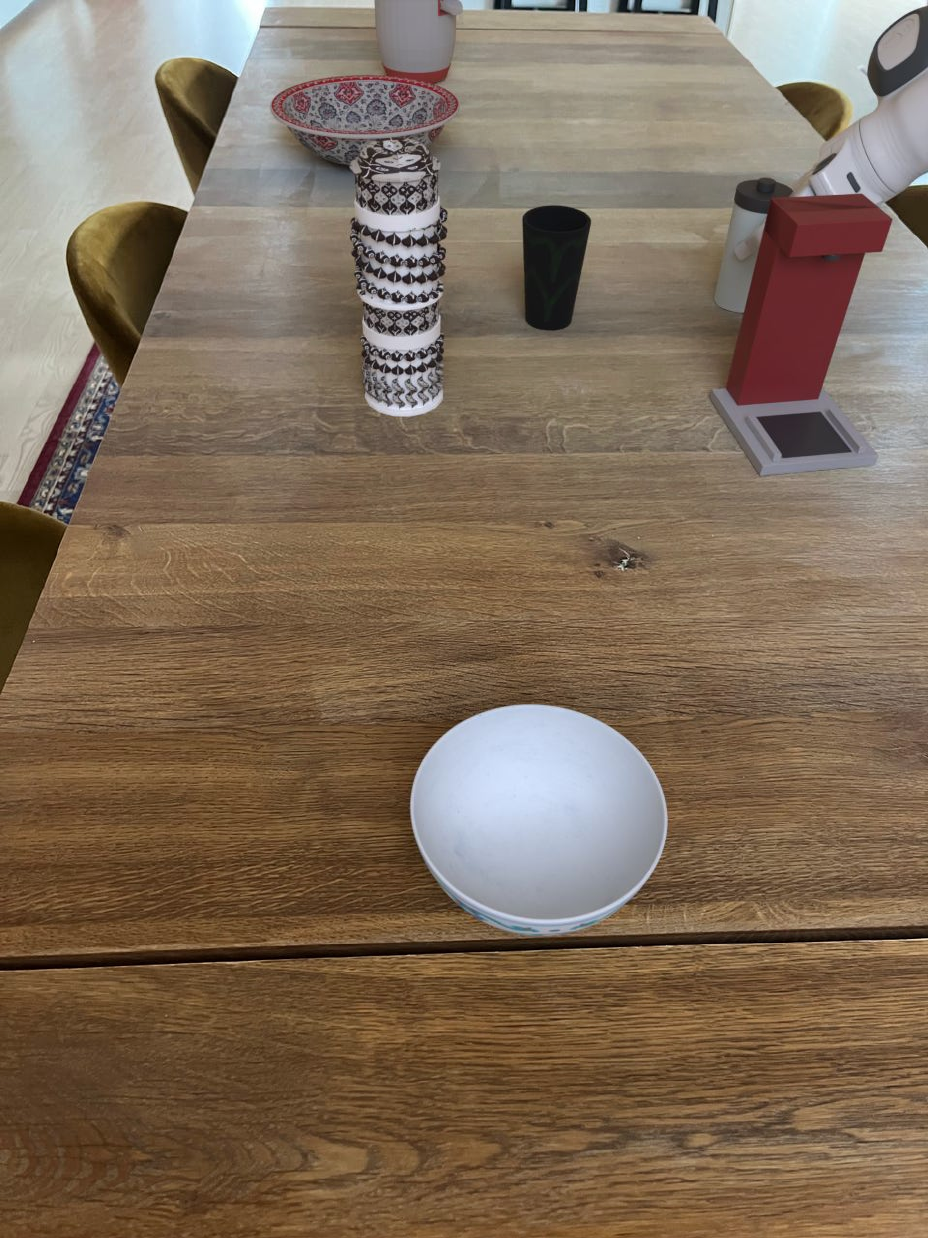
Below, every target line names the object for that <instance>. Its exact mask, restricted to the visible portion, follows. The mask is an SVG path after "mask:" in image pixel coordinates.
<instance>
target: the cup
mask: <svg viewBox="0 0 928 1238" xmlns="http://www.w3.org/2000/svg"><path fill="white" fill-rule="evenodd" d="M521 220H522V221H521V224H522V225H521V226H522V254H523V255H522V256H523V257H522V259H523V286H524V287H523V289H524V290H523V291H524V318H525V319H524V320H525V322H526V323H527V324H528V325H529V326H530V327H532V328H535V329H537V330H541V331H559V330H564V329H565V328H568V327H569V326H570V325H571V324H572V320H573V316H574V310H575V305H576V300H577V295H578V291H579V285H580V280H581V276H582V271H583V265H584V260H585V255H586V252H587V245H588V240H589V236H590V231H591V227H592V219H591V217H590V215H588V214H587V213H586V212H585V211H583V210H581V209H578V208H575V207H571V206H567V205H541V206H536V207H533V208H531V209H529V210H527V211H526V212H525V213H524V214H523V215H522V218H521Z"/></svg>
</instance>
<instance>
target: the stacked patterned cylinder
mask: <svg viewBox="0 0 928 1238" xmlns="http://www.w3.org/2000/svg"><path fill="white" fill-rule="evenodd" d="M441 164H442V163H441V162H440V161H439V160H438V159H437V158H436V157H435V156H433V155H432V154H431V152H430V151H429V148H428V147H427V148H426V147H425V146H424V145H423V144H422V143H420V142H418V141H415V140H412V139H407V138H383V139H379V140H375V141H372V142H370V143H368V144H367V145H365V146H364V147H363V149H362V151H361V153H360V155H359V156H358V157H357V158H355V159H354V160H352V161H351V164H350V165H349V169H350V170H351V171H352V172H353V174H354V188H355V193H356V194H355V197H354V201H353V204H354V217H352V218H351V219H350V223H349V224H350V226H351V228H350V231H351V233H350V235H349V240H350V241H351V242H352V246H353V248H352V249H351V252H350V254H351V256H352V257H354V263H355V270H354V272H353V275H354V277H355V278H356V281H357V284H356V285H355V290H356V293H357V295H358V296H359V298H360V300H361V301H362V309H363V316H362V322H361V324H362V331H361V336H360V338H359V341H360V343H361V344H362V349H361V353H360V354H361V355H360V356H361V357H363V365H362V367H361V372H362V374H363V376H364V378H363V380H362V387H364V389H365V392H364V399H365V401H366V403H367V405H368V407H370V408H372V409H373V410H375V411H376V412H378V413H379V414H384V415H387V416H391V417H406V418H407V417H408V418H409V417H415V416H419V415H425V414H427V413H429V412H431V411H433V410H435V409H437V408H438V406H440V404H441V403H443V400H444V385H443V383H444V382H445V377H443V376H444V375H445V372H444V371H443V370H444V369H445V367H446V366H445V364H444V363H442V361H443V360H444V355H443V354H444V353H445V348H444V347H443V346H444V340H445V334H444V333H443V332H442V329H441V328H442V327H441V322H442V321H441V315H440V310H439V309H440V302H439V301H440V299H441V297H443V294H444V293H443V292H445V290H444V283H443V282H442V281H441V280H440V278H441V277H443V276H444V275H445V274H446V269H447V267H446V264H445V263H443V262H442V261H443V260H445V259H446V253H447V249H446V247H444V246H442V245H441V244H440V242H441V241H443V240H445V239H446V238H447V236H448V228H447V226H445V225H443V224H444V223H445V222H447V220H448V214H449V213H448V210H447V209H446V208H444V207H442V205H441V197H440V195H439V171H440V170H441Z"/></svg>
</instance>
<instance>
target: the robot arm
mask: <svg viewBox="0 0 928 1238" xmlns="http://www.w3.org/2000/svg"><path fill="white" fill-rule="evenodd" d="M866 75H867V80H868V83H869V86H870V88H871V90H872V92H873V93H874V94H875V96H876V99H877V105H876V107H875V109H874V110H873V111H872V112H870V113H868V114H865V115H863V116H862V117H860V118H859V119H857V120H856V121H854V122H853V123H851V124H850V125H849V126H847V127H846V128H845V129H843V130H841V131H839V133H837V134H836V135H834V136H833V137H831V138H830V139H828V140H827V141H825V142H824V143H822V145H821V147H820V150H819V157H818V160H817V161H816V162H815V163H814V164H813V166H812V168H811V169H809V170H808V171H806V172H805V173H804V174H803V175H801V176H800V177H799V178H797V179H796V180H795V182H794V183H793V184H792V186H791V187H790V188H791V189H792V190H793V192H792V194H791V195H790V196H789V197H803V196H822V195H842V194H861V193H862V194H863V195H865V196H866V197H867V198H868V199H869V200H871V201H872V202H873V203H874V204H875V205H877V206H878V207H879V206H881V205H883V204H885V203H886V202H888V201H889V200H891V199H893V198H894V197H896V196H898V195H899V194H900V193H902V192H904V191H905V190H906V189H907V188H909V187H910V186H911V185H912V183H913V182H915V181H916V180H917V179H919V178H920V177H922V176H923V175H925V174H928V5H925V6H921V7H918V8H916V9H913V10H911V11H909V12H907V13H905V14H904V15H902V16H901V17H899V18H898V19H897V20H895V21H893V23H891V24H890V25H889V26H888V27H887V28H886V29H885V30H884V31H883V32H882V33H881V34H880V35H879V36H878V38H877V39H876V41H875V42H874V44H873V48H872V50H871V53H870V55H869V59H868V64H867V71H866ZM765 222H766V218H765V219H764V220H763V222H762V223H761V224H760V225H759V226H758V228H757V229H756V230H755V231H754V232H753V234H752V235H751V236H748V237H747V238H745V239H744V240H742V241H740V242H739V243H738V244H737V245H736V246H735V248H734V252H735V254H736V256H737V257H738V259H739V260H744V259H746V258H747V257H749V256H750V255H752V254H754V253H757V252H758V251H759V247H760V242H761V238H762V234H763V230H764V226H765Z"/></svg>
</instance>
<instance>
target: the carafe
mask: <svg viewBox="0 0 928 1238" xmlns="http://www.w3.org/2000/svg"><path fill="white" fill-rule="evenodd" d="M792 192H793V190H792V189H791V187H790V186H789V185H786V184H784V183H783V182H778V181H776V179H774V178H772V177H760V178H758V179H749V180H748V179H747V180H743V181H741V182H739V183H738V184H737V185H736V188H735V193H734V198H733V206H732V211H731V215H730V221H729V225H728V229H727V234H726V239H725V243H724V248H723V253H722V257H721V262H720V267H719V272H718V276H717V281H716V285H715V290H714V294H713V295H714V296H713V301H714V303H715V304H716V305H717V306H718V307H719V308H721V309H723V310H726V311H729V312H732V313H739V314H743V313H744V309H745V305H746V301H747V297H748V293H749V288H750V284H751V280H752V276H753V272H754V268H755V263H756V259H757V255H758V252H757V253H754V254H752V255H750V256H749V257H747V258H746V259H744V260H739V259H738V257H737V256H736V254H735V252H734V248H735V246H736V245H737V244H738V243H739V242H740V241H742V240H744V239H745V238H747V237H748V236H751V235H752V234H753V232H754V231H755V230H756V229H757V228H758V226H759V225H760V224H761V223H762V222H763V220H764V219H765V218H766V217H767V213H768V209H769V205H770V201H771V198H783V197H789V196H790V195H791V194H792Z"/></svg>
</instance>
